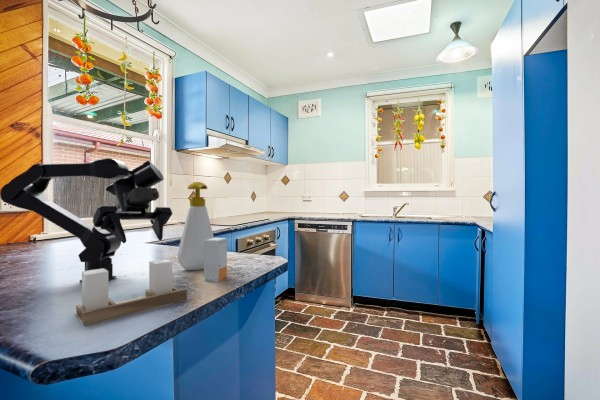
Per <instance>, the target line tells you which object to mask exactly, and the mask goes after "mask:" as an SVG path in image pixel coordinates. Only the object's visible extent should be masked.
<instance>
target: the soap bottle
mask: <svg viewBox="0 0 600 400" xmlns="http://www.w3.org/2000/svg"><path fill="white" fill-rule="evenodd" d="M187 190H195V191H194V195H195V197H194V196H193V197H191V198H190V199H189V207H188V210H187V214H186V218H185V223H184V226H183V231H182V235H181V238H180V242H179V246H178V250H177V260H178V261H177V262H178V263H179V265H180V267H182V269H183V270H185V271H196V270H204V241H205V240H208V239H211V238H215V237H214V236H215V235H214V233H213V228H212V225H211V222H210V217H209V212H208V209H207V206H206V199H204V196H201V190H208V186H207V185H206V184H205V183H203V182H201V181H195V182H192V183H190V184H189V185H188V187H187Z"/></svg>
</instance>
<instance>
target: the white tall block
mask: <svg viewBox="0 0 600 400" xmlns="http://www.w3.org/2000/svg"><path fill="white" fill-rule="evenodd" d="M81 280H82V282H81V306H82V308H83V309H84V310H85V311H87V310H91V309H96V308H100V307H105V306H109V293H110V292H109V280H108V271H107V270H106V269H104V268H102V269H95V270H88V271H85V270H82V271H81Z"/></svg>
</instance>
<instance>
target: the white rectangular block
mask: <svg viewBox="0 0 600 400" xmlns="http://www.w3.org/2000/svg"><path fill="white" fill-rule="evenodd" d="M148 264H149V266H148V269H149V271H148V274H149V275H148V282H149V283H148V284H149V285H148V286H149V287H148V288H149V289H148V290H149V291H151V292H153V293H154V294H156V295H158V294H162V293H167V292H171V291H172V286H173V261H172V260H169V259H167V258H166V259H164V258H163V259H159V260H152V261H148Z"/></svg>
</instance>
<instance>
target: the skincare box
mask: <svg viewBox="0 0 600 400" xmlns="http://www.w3.org/2000/svg"><path fill="white" fill-rule="evenodd" d="M203 271H204V272H203V281H204V282H213V283H214V282H216V283H217V282H220V281H221V280H223V279H224V278H227V277H228V238H227V237H214V238H211V239H208V240H205V241H204V269H203Z"/></svg>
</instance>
